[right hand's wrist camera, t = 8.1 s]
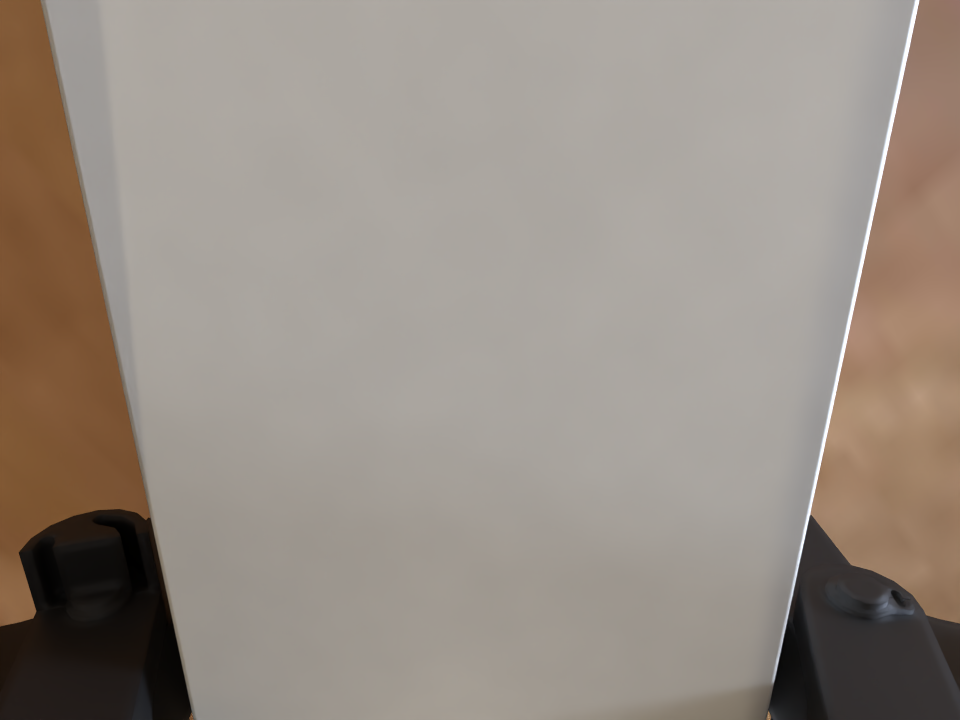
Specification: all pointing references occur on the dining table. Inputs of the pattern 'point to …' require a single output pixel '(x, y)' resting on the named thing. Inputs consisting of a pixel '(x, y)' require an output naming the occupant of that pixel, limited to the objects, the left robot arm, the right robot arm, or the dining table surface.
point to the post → (479, 334)
